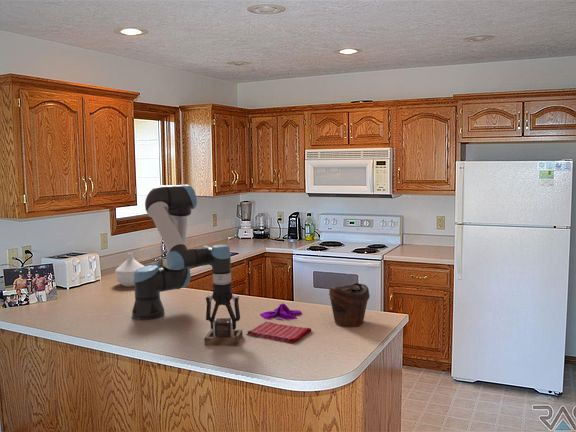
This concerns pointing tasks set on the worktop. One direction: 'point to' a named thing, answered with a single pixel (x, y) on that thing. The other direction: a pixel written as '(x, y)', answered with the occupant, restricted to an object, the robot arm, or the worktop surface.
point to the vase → (127, 271)
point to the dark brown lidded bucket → (349, 304)
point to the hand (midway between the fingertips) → (223, 336)
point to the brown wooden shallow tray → (223, 339)
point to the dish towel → (279, 332)
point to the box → (223, 327)
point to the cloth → (281, 313)
